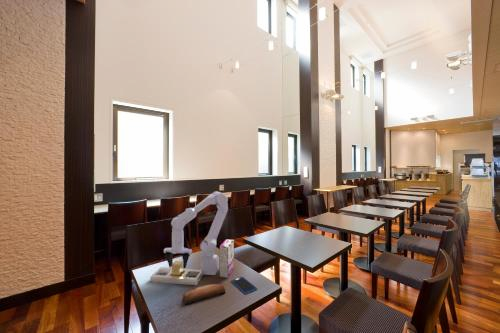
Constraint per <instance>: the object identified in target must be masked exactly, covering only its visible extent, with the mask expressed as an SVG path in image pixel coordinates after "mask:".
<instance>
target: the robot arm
mask: <svg viewBox="0 0 500 333" xmlns="http://www.w3.org/2000/svg"><path fill="white" fill-rule="evenodd" d="M228 201H229V198H228V197H227V195H226V193H223V192H220V191H217V190H215V191H213V192H212V193H210V194H209V195H207V197H205V198H204V199H203V200H202V201H201V202H199V203H198V204H196V205H195V206H194V207H189V208H185V211H184V212H182V213H180V214H178V215H177V216H175V217H173V219H172V220H171V222H170V225H171V231H172V232H171V247H165V248H164V249H163V253H164V257H165V259H166V261H167V263H168V268H172V264H173V263H174V262H173V259H174V258H173V257H174V255H176V254H183V255H182V256H181V257H182V258H181V259H182V261H183V269H187V265H188V261H189V259H190V256H191V254H193V250H192V249H191V248H186V247H184V244H185V242H184V237H185V236H184V233H185V232H184V227H185V225H187V224H188V223H189V222H190V221H192V220H193V219H195V218H196V217H197V214H198V213H199V212H200V211H202V210H203V209H205V208H206V207H208V206H210V205H216V208H217V212H216V214H215V216H214V219H213V221H212V223H211V226H210V228H209V231H208V234H207V235H206V236H205V237H204V240H202V242H201V243H200V245H199V249H200V251H201V253H200V270H203V275H205V276H206V275H207V276H209V275H210V276H215V275H216V274H217V272H218V271H219V270H220V256H219V255H218V254H216V251H217V250H216V248H217V240H218V236H219V233H220V231H221V229H222V226H223V223H224V221H225V219H226V216H227V213H228V211H229V204H228Z"/></svg>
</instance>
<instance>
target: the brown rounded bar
mask: <svg viewBox="0 0 500 333" xmlns="http://www.w3.org/2000/svg"><path fill="white" fill-rule="evenodd" d="M225 293H226V288H225V286H224V285H223V284H217V283H216V284H215V283H214V284H205V285H202V286H198V287H196V288H195V289H191V290H189V291H187V292H185V293H182V297H183V300H184V304H185V305H189V304H191V303H193V302H194V303H195V302H196V301H199V300H202V299H206V298H209V297H212V296H216V295H221V294H225Z"/></svg>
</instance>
